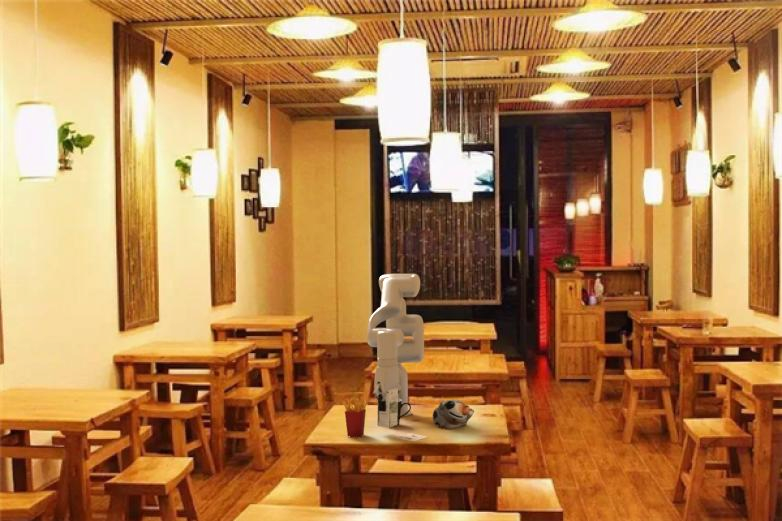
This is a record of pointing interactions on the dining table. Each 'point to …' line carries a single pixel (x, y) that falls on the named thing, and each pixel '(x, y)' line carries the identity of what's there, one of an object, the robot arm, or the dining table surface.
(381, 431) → the dining table surface
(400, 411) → the coffee mug
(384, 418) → the syrup box
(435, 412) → the lucky cat figurine
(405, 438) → the tile
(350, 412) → the french fries
